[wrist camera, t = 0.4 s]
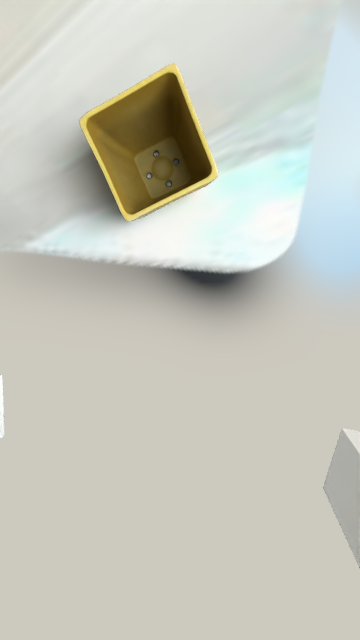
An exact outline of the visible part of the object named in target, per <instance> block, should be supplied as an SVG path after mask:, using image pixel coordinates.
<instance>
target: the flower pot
mask: <svg viewBox="0 0 360 640" xmlns="http://www.w3.org/2000/svg"><path fill="white" fill-rule="evenodd" d="M79 123H80V126H81V129H82V131H83V133H84V135H85V137H86V139H87V141H88V143H89V145H90V147H91V149H92V151H93V153H94V155H95V157H96V159H97V161H98V163H99V165H100V167H101V169H102V171H103V174H104V176H105V178H106V180H107V182H108V185H109V187H110V189H111V191H112V194H113V196H114V198H115V200H116V202H117V205H118V207H119V210H120V212H121V214H122V216H123V218H124V219H125V220H126V221H127V222H129V221H133V220H136V219H139V218H141V217H144V216H146V215H148V214H150V213H152V212H154V211H156V210H158V209H160V208H162V207H163V206H165V205H167V204H169V203H171V202H173V201H175V200H178V199H180V198H182V197H184V196H186V195H188V194H190V193H192V192H194V191H196V190H198V189H201V188H203V187H205V186H207V185H208V184H210V183H211V182H212V181H214V180H215V179H216V178H217V177H218V168H217V166H216V163H215V161H214V158H213V156H212V153H211V151H210V148H209V146H208V143H207V141H206V138H205V136H204V133H203V131H202V128H201V125H200V123H199V120H198V118H197V115H196V113H195V110H194V107H193V105H192V102H191V99H190V97H189V94H188V91H187V88H186V86H185V83H184V81H183V78H182V75H181V73H180V71H179V69H178V67H177V66H176V65H175V64H171V65H168V66H166V67H164V68H163V69H161V70H159V71H157V72H156V73H154V74H152V75H151V76H149V77H148V78H146V79H144V80H143V81H141V82H139V83H137V84H136V85H134V86H133V87H131V88H129V89H127V90H126V91H124V92H122V93H121V94H119V95H117V96H116V97H114V98H112V99H110V100H108V101H107V102H105V103H103V104H101V105H99V106H98V107H96V108H94V109H92V110H91V111H89V112H87V113H86V114H85V115H84V116H82V117H81V119H80V120H79ZM155 151H158V152H159V156H158V157H155V156H154V152H155ZM175 159H178V160H179V164H178V165H175V164H174V160H175ZM148 173H151V174H152V178H150V179H148V178H147V174H148ZM167 181H171V183H172V185H171V186H169V187H168V186H167V184H166V183H167Z"/></svg>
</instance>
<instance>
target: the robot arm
mask: <svg viewBox="0 0 360 640" xmlns="http://www.w3.org/2000/svg"><path fill="white" fill-rule="evenodd" d="M2 386H3V385H2V375H0V439H1V437H2V436H4V411H3V387H2ZM323 489H324V491H325V493H326V495H327V497H328V499H329V502H330V504H331V506H332V508H333V511H334V513H335V515H336V517H337V519H338V522H339V524H340V526H341V528H342V530H343V533H344V535H345V537H346V539H347V541H348V543H349V546H350V548H351V550H352V552H353V554H354V557H355V559H356V561H357V563H358V565H359V568H360V431H356V430H349V429H342V430H341V433H340V436H339V439H338V442H337V445H336V449H335V452H334V455H333V458H332V461H331V464H330V467H329V471H328V474H327V477H326V480H325V483H324V486H323Z"/></svg>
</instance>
